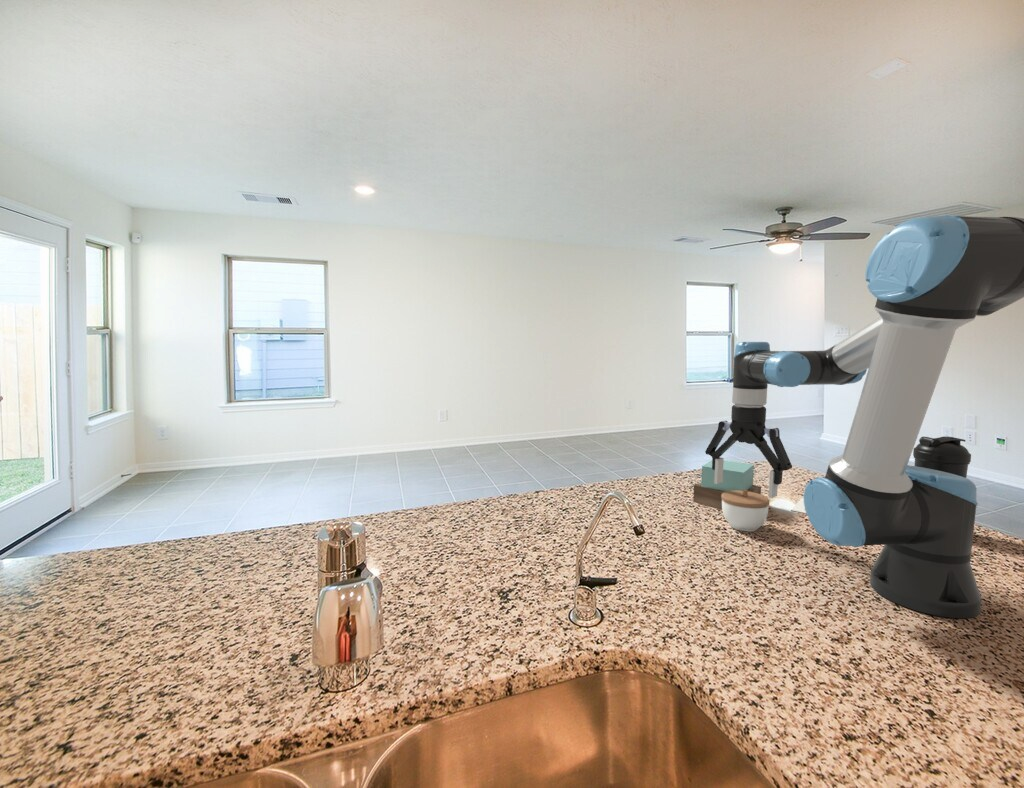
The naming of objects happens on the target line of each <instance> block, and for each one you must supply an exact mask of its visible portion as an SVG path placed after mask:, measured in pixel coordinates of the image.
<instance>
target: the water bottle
mask: <svg viewBox="0 0 1024 788" xmlns="http://www.w3.org/2000/svg"><path fill="white" fill-rule="evenodd" d="M918 441H919V443H918V444H917V445H916V446H914V448H913V450H912V455H913V458H914V466H917V467H923V468H928V469H933V470H938V471H943V472H947V473H951V474H955V475H958V476H962V477H964V478H968V477H967V475H968V468H969V465H970V464H971V462H972V461H971V459H972V454H971V453H970V451H969V450H968V448H966V447H965V446H964V445H962V444H961V442H966V439H964V438H960V437H954V436H940V437H929V436H921V437H920V438H919V439H918Z"/></svg>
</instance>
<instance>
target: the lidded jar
mask: <svg viewBox="0 0 1024 788" xmlns="http://www.w3.org/2000/svg"><path fill="white" fill-rule="evenodd" d="M721 498H722V509H721V510H722V515H723V517H724V519H725V520H726V521H727V523H728V524H729V526H730V527H731V528H732V529H735V530H737V531H741V532H756V531H757V530H758V529H759V528H760V527H762V526H763V525H764V524H765V523H766V520H767V519H768V514H769V508H770V507H769V506H770V499H769V497H767V496H765V495H763V494H762V493H761V494H758V493H754V492H748V491H747V490H743V491H738V490H735V491H726V492H723V493H722V495H721Z"/></svg>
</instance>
